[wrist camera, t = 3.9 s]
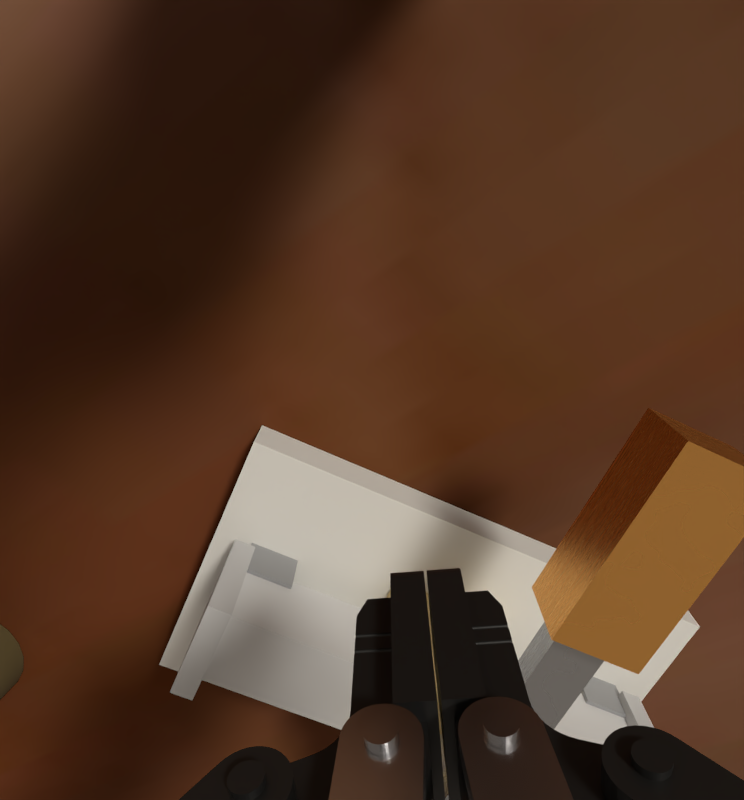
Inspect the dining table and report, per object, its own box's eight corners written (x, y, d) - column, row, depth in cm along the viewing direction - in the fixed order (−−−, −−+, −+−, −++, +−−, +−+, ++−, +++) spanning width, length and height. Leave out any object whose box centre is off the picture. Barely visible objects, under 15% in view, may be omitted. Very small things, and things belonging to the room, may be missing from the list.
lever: (382, 811, 24) (382, 880, 22) (645, 406, 18) (684, 439, 16) (455, 837, 24) (463, 907, 22) (735, 447, 19) (786, 486, 16)
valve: (171, 637, 34) (88, 817, 24) (261, 425, 30) (204, 541, 20) (549, 775, 37) (607, 984, 27) (681, 600, 33) (806, 775, 23)
